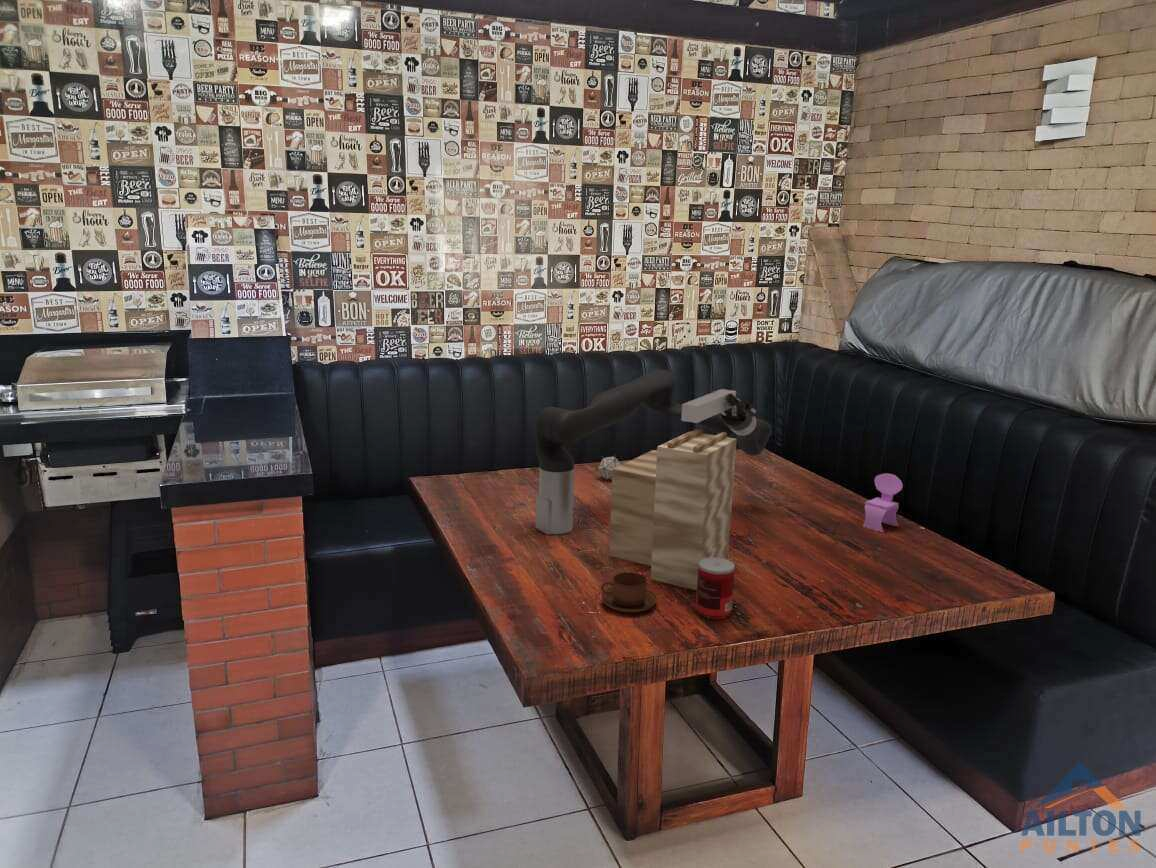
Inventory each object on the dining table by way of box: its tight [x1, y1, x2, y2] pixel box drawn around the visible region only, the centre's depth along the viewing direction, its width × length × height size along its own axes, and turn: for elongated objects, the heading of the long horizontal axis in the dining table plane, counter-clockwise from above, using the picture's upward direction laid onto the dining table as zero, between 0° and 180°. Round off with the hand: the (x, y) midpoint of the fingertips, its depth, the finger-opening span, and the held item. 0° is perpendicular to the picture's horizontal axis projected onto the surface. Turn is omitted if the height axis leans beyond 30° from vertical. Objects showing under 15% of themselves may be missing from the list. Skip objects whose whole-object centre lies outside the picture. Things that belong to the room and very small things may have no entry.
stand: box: [608, 428, 737, 591], centre depth 207 cm, size 30×27×33 cm
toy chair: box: [862, 473, 904, 534], centre depth 236 cm, size 8×9×15 cm
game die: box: [594, 454, 623, 482], centre depth 274 cm, size 9×8×10 cm
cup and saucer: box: [600, 571, 658, 613], centre depth 184 cm, size 12×12×6 cm
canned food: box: [695, 557, 736, 618], centre depth 181 cm, size 8×8×11 cm
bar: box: [680, 388, 737, 424], centre depth 209 cm, size 24×4×4 cm, turn 148°
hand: (720, 395), depth 214 cm, fingers closed on bar, 4 cm apart
